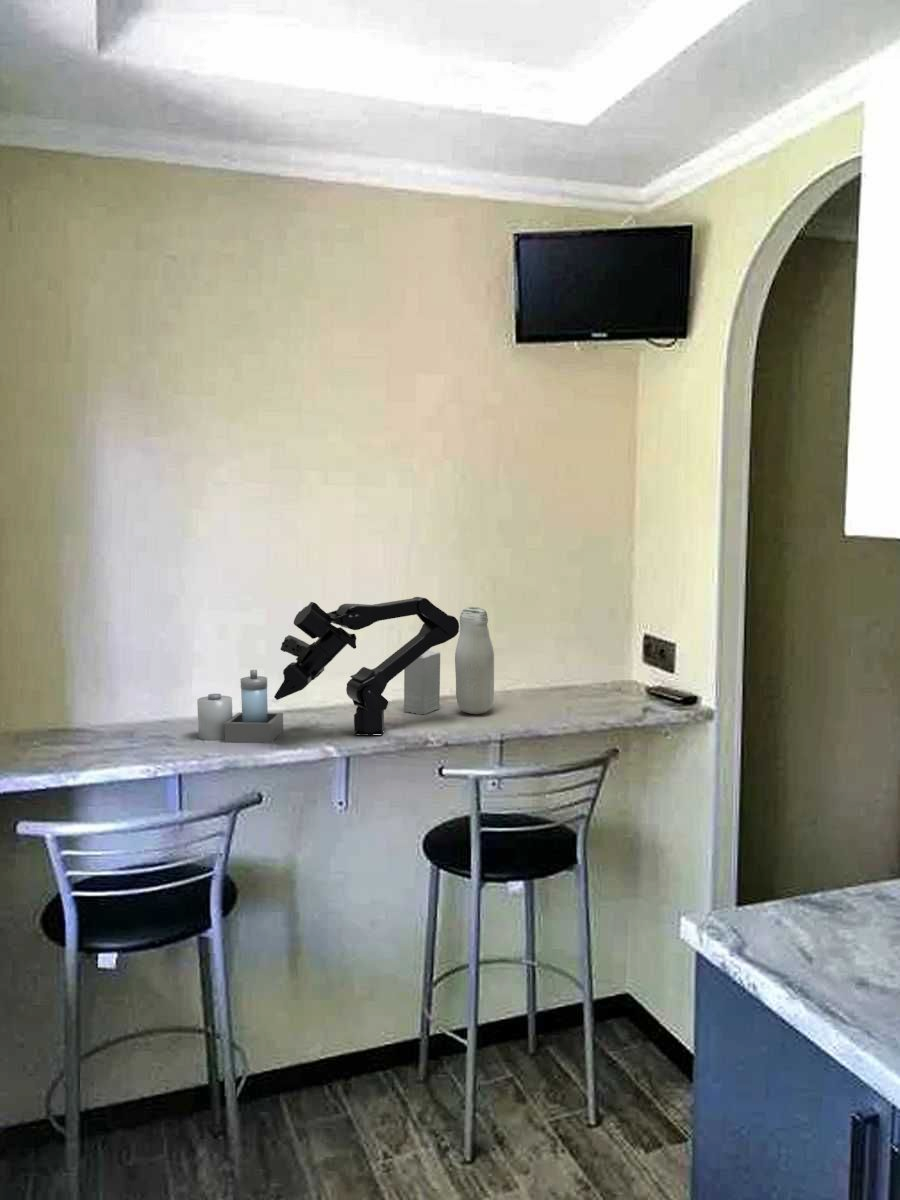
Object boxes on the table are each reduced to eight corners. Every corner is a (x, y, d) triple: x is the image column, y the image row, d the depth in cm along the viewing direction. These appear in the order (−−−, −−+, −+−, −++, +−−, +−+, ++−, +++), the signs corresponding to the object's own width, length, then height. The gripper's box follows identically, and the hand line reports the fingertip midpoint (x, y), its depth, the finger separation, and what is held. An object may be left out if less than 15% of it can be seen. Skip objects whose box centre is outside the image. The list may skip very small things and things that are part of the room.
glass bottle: (497, 710, 252) (496, 605, 249) (489, 718, 242) (488, 610, 239) (461, 708, 255) (460, 604, 252) (451, 716, 245) (450, 609, 242)
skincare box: (421, 706, 257) (420, 648, 256) (442, 709, 253) (442, 651, 252) (402, 712, 250) (401, 653, 249) (424, 715, 246) (423, 655, 245)
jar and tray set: (283, 731, 231) (282, 690, 230) (271, 742, 220) (270, 700, 219) (207, 730, 233) (205, 690, 231) (191, 741, 222) (190, 699, 221)
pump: (271, 729, 229) (269, 668, 227) (264, 735, 223) (262, 672, 221) (246, 729, 229) (244, 667, 228) (238, 735, 223) (236, 672, 221)
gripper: (310, 619, 231) (267, 663, 233) (291, 629, 213) (244, 677, 215) (342, 651, 232) (299, 695, 234) (326, 664, 213) (279, 712, 215)
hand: (280, 694), depth 224 cm, fingers open, 9 cm apart
